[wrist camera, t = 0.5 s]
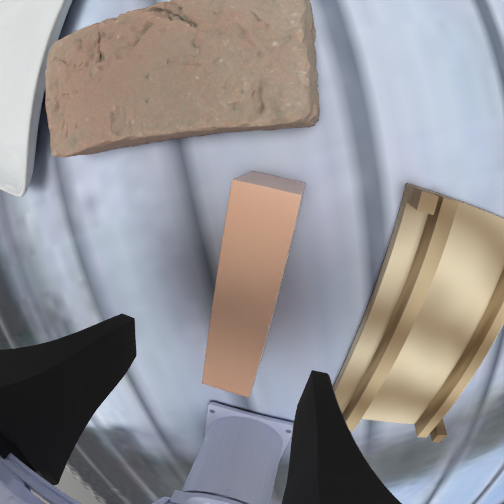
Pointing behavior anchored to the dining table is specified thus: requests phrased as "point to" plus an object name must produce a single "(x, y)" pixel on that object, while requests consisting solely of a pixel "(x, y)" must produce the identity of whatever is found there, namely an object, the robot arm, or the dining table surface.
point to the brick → (182, 74)
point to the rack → (426, 315)
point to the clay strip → (249, 277)
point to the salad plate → (24, 82)
